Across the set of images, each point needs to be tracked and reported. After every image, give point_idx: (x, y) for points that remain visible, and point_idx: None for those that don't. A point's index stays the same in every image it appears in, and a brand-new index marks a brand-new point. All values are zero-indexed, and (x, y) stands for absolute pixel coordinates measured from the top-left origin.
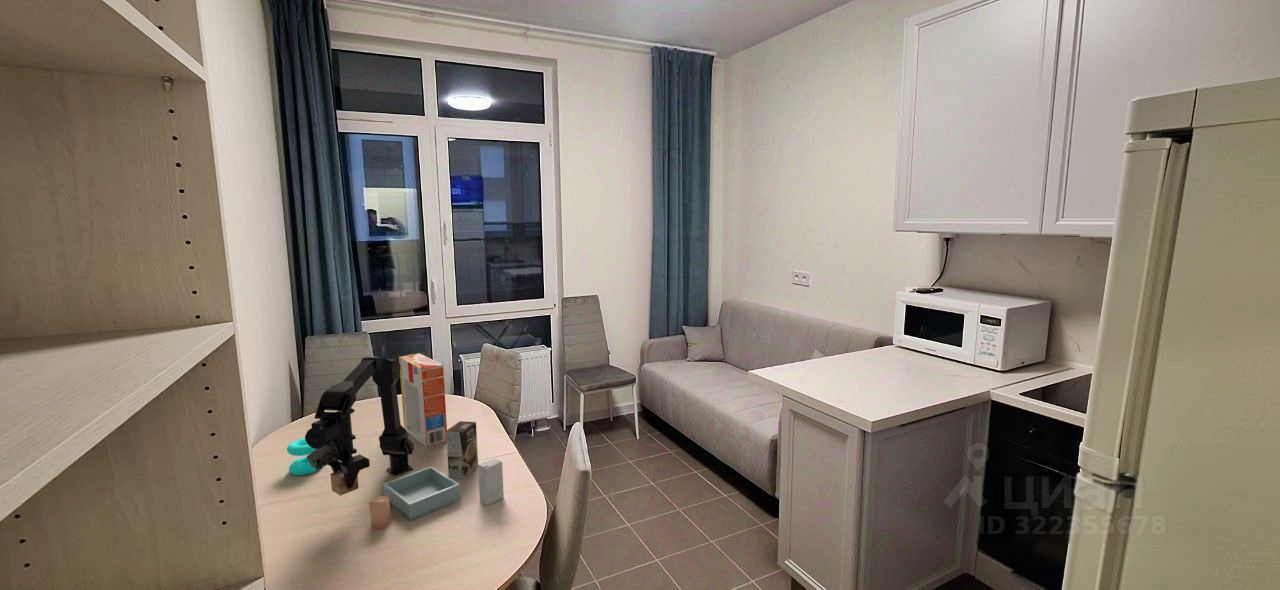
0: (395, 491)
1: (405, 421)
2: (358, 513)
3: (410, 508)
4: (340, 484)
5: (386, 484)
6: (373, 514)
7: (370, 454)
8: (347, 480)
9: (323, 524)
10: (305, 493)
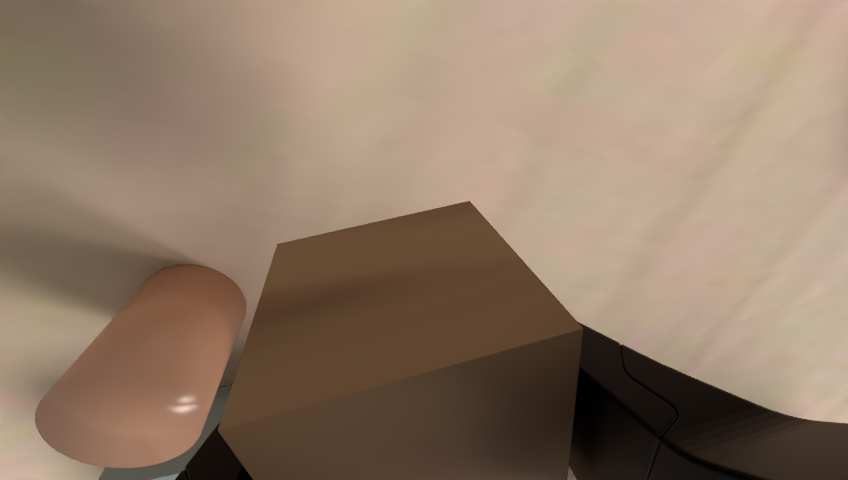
0: None
1: None
2: None
3: (109, 467)
4: (255, 342)
5: None
6: (101, 333)
7: (784, 358)
8: (194, 466)
9: (400, 66)
10: (790, 91)
